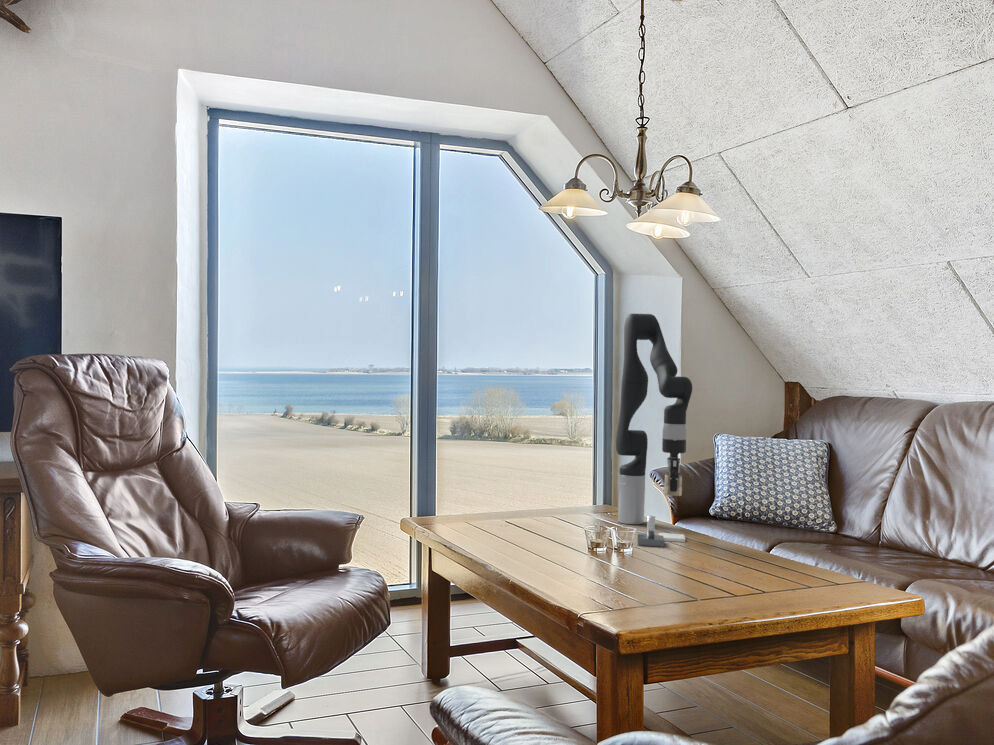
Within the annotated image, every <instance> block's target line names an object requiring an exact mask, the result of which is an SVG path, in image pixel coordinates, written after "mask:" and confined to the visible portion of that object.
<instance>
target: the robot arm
mask: <svg viewBox="0 0 994 745" xmlns="http://www.w3.org/2000/svg"><path fill="white" fill-rule="evenodd" d="M638 340H639V341H648V340H649V342H651V344H652V348H651V351H650V356H649V361H650V365H651V367H652V368H653V370H654V372H655V375H656V377H657V378H656V379H657V384H658V391H659V393H660V394H661V395H662V396H663V397H664V398H667V399H676V400H675V402H674V403H672V404H669V405H666V406H665V407H664V408H663V409H664V410H663V426H662V427H663V428H662V452H663V453H666V454H669V456H668V457H667V473H668V474H667V475H670V491H672V492H676V491H677V480H678V478H679V476H678V475H679V473H680V465H681V458H679V454H685V453H686V452H687V410H688V408H689V406H688V405H689V403H690V400H691V398H692V394H693V384H692V381H691V379H690V378H689V377H687V376H677V374H678V367H677V364H676V363H675V361H674V360H673V358H672V356H671V354H670V352H669V350H668V348H667V345H666V342H665V338H664V335H663V332H662V328H661V325H660V322H659V320H658V318H657V317H656V316H655V315H653V314H651V313H629V314H627V316H626V317H625V320H624V326H623V364H622V365H623V367H622V377H621V388H620V389H621V390H620V408H619V417H618V424H617V430H616V437H615V438H616V439H615V451H616V453H617V454H618V455H619V456H633V457H634V458H633V460H632V461H630V462H628V463H625V464H622V465H621V466H619V474H618V475H619V477H618V479H619V480H618V481H619V482H618V512H617V516H618V518H617V523H621V524H626V525H642V524H645V503H646V501H645V500H646V492H645V491H646V471H647V470H646V469H647V457H648V456H647V454H648V445H649V444H648V440H649V439H648V435H647V433H646V431H645V430H642V429H641V430H640V429H639V430H637V429H636V430H635V429H629V428H630V423H631V422H632V419H633V417H634V415H635V414H636V413H637V411H638V410H639V408H640V407H641V405H642V404H643V403H644V401H645V400H646V398H647V396H648V387H649V376H648V373H647V371H646V368H645V366H644V365H643V363H642V361H641V359H640V357H639V354H638Z"/></svg>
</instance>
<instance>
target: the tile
mask: <svg viewBox="0 0 994 745" xmlns="http://www.w3.org/2000/svg"><path fill="white" fill-rule="evenodd" d="M658 535H660V536H663V537H664V542H678V543H686V537H685V534H683V533H667V532H659V533H658Z"/></svg>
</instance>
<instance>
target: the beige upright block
mask: <svg viewBox="0 0 994 745" xmlns="http://www.w3.org/2000/svg"><path fill="white" fill-rule="evenodd" d="M678 476H679V478H678V480H677V491H676V492H672V491H670V475H669V474H664V491H663V492H664V496H671V497H672V496H675V497H681V496H682V495H683V494H682V493H683V476H682V475H679V474H678Z"/></svg>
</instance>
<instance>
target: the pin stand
mask: <svg viewBox="0 0 994 745" xmlns="http://www.w3.org/2000/svg"><path fill="white" fill-rule="evenodd" d="M646 519H647V522H646V534H644V533H643V534H641V533H638V534H637V546H643V547H655V548H656V547H657V548H658V547H659V548H660V547H661V548H664V547H665V541H664V537H663V536H660V535H659V534H658V535H657V534H656V533H655V532H656V531H655V530H656V516H654V515H647V516H646Z"/></svg>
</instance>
